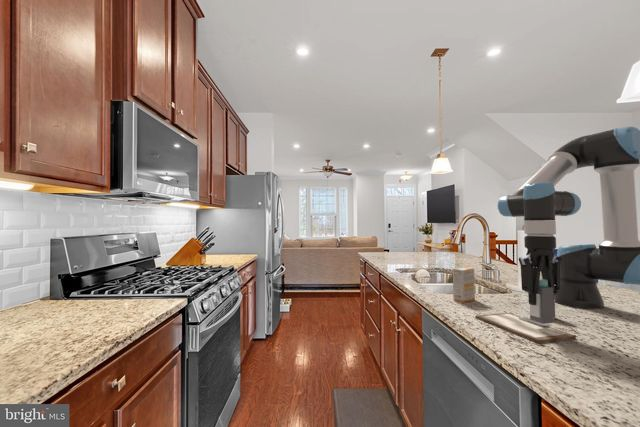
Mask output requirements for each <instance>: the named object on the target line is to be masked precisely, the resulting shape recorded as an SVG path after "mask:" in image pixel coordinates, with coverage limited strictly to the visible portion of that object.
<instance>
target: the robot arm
mask: <svg viewBox="0 0 640 427" xmlns="http://www.w3.org/2000/svg"><path fill="white" fill-rule="evenodd" d="M639 166H640V129H639V128H637V127H635V126H625V127H618V128H614V129H610V130H605V131H601V132H597V133H593V134H587V135H583V136H580V137H577V138H574V139H571V141H568V142H566V143H565V144H563V145H562V146H561V147H559V148H558V149H557V150H555V151H554V152H553V153H552V154H551V155H550V156H549V157H548V158H547V162H546V163H545V164H543V166H542V167H541V168H539V170H538V171H537V172H535V173H534V174H533V176H531V177H530V178H529V179H528V180H527V181H526V182H524V184H523V185H522V186H520V187H519V188H518V189H517V190H516V191H515V192H514V193H512V194H511V195H509V194H508V195H504V196H501V197H500V198H499V199H498V201H497V210H498V212H499V213H500V215H502V216H503V217H511V218H515V217H516V218H517V217H523V220H524V221H523V224H524V225H523V226H524V230H523V231H524V234H525V236H524V248H525V249H527V252H526V255H525V256H524V257H523V256H522V257H521V256H519V257H518V262H519V264H520V278H521V279H520V280H521V290H522V291H524V292H525V293H527V295H528V304H529V316H530V315H532V316H535V317H541V309H540V294H537V293H538V287H539V279H545V280H548V287H552V288H553V300H554V299H555V304H560V305H563V306H568V307H572V308H579V309H581V308H582V309H591V310H592V309H598V310H599V309H603V308H604V307H605V303H604V299H603V297H602V295H601V292H600V290H599V287H598V281H605V282H612V283H613V282H615V283H620V284H625V285H638V286H639V285H640V240H639V232H638V231H639V230H638V229H639V228H638V215H637V214H638V213H637V212H638V211H637V198H636V181H635V170H636V169H637V168H638V167H639ZM585 167H587V168H588V167H593V171H595V172H596V173H598V174H599V180H600V194H601V195H600V196H601V198H600V199H601V211H602V228H603V240H602V241H601V242H599V243H598V248H597V246H596V244H595V243H592V244H591V243H589V244H573V245H562V246H561V245H560V246H559V247H558V248H557V237H556V236H554V235H556V234H557V229H556V228H557V227H556V225H557V223H556V216H558V217H559V216H560V217H568V216H572V215H575V214H577V213H578V212H579V211H580V209H581V206H582V201H581V198H580V197H579V196H578V195H577V194H576V193H574V192H572V191H571V192H570V191H567V190H565V191H564V190H563V191H561V190H559V191H557V190H556V188H555V187H556V185H557V184H559V183H560V181H561V180H563V178H564V177H565V176H566V175H569V174H571V173H574V171H575V170H578V169H581V168H585ZM556 248H557V251H556V252H557V253H556V255H555V253H554V251H553V250H555V249H556ZM540 277H541V278H540Z"/></svg>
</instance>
